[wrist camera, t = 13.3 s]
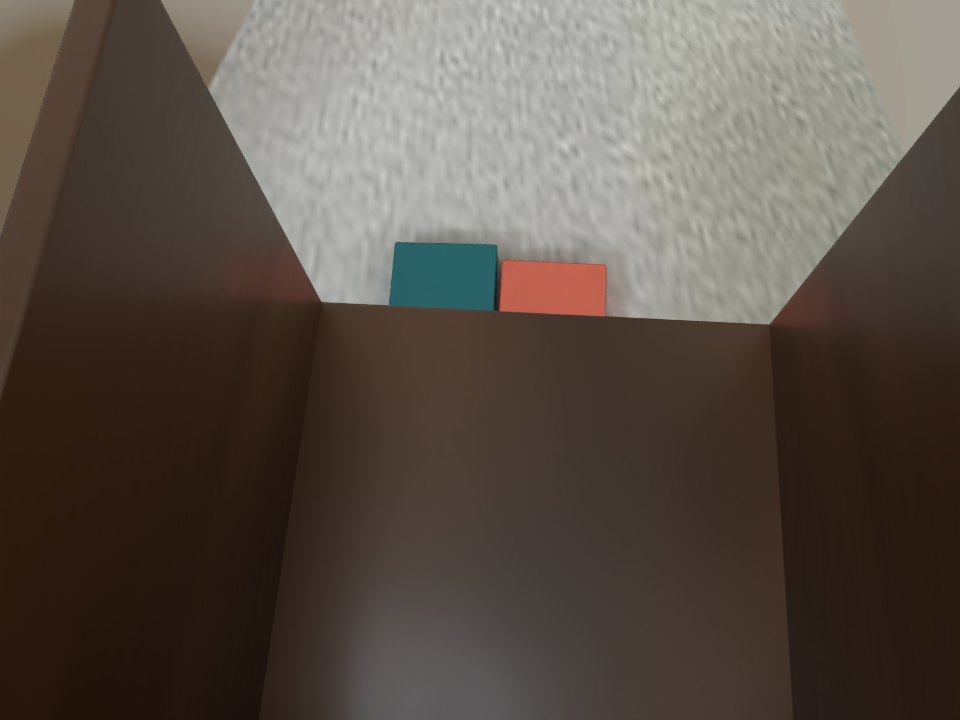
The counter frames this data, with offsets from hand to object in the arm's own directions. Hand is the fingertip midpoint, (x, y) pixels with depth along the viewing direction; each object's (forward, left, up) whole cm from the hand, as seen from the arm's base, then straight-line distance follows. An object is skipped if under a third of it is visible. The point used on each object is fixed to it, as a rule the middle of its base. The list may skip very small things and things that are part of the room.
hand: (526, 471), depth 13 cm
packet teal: (-5, +10, -17) cm, 20 cm away
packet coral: (0, +10, -17) cm, 20 cm away
